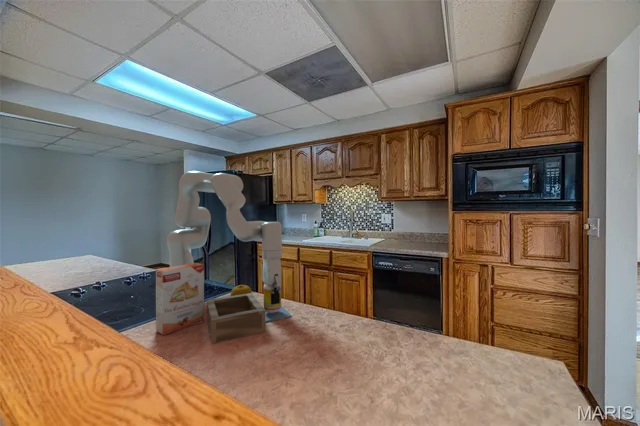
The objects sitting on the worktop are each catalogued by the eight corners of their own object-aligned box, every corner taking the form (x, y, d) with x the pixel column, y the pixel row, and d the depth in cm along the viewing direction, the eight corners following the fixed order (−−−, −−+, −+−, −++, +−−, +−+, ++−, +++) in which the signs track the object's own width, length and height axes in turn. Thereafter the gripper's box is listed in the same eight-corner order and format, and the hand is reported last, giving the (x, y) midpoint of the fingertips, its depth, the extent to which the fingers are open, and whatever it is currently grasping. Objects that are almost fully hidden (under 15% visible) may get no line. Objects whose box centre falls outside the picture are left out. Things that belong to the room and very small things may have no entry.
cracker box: (163, 336, 83) (162, 271, 82) (155, 331, 86) (154, 268, 86) (205, 321, 94) (204, 263, 94) (196, 317, 97) (195, 261, 97)
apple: (231, 304, 111) (230, 283, 111) (251, 301, 113) (251, 281, 113) (230, 311, 103) (230, 289, 103) (252, 308, 105) (252, 287, 105)
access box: (206, 318, 96) (206, 299, 96) (251, 310, 103) (251, 293, 103) (211, 343, 78) (211, 320, 78) (265, 331, 85) (265, 310, 85)
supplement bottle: (279, 313, 96) (279, 278, 95) (261, 313, 96) (261, 278, 96) (282, 306, 102) (282, 274, 102) (265, 306, 102) (265, 274, 102)
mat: (255, 312, 101) (255, 311, 101) (282, 307, 106) (282, 306, 106) (262, 323, 92) (262, 321, 92) (291, 316, 97) (291, 315, 97)
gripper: (256, 251, 105) (257, 295, 105) (268, 258, 89) (269, 310, 90) (274, 250, 108) (274, 292, 108) (289, 256, 93) (289, 306, 93)
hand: (272, 300), depth 99 cm, fingers closed on supplement bottle, 6 cm apart
